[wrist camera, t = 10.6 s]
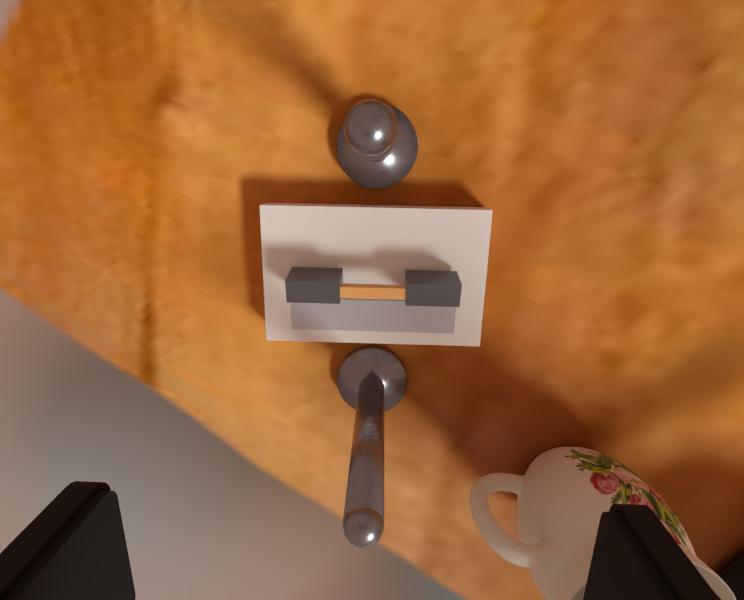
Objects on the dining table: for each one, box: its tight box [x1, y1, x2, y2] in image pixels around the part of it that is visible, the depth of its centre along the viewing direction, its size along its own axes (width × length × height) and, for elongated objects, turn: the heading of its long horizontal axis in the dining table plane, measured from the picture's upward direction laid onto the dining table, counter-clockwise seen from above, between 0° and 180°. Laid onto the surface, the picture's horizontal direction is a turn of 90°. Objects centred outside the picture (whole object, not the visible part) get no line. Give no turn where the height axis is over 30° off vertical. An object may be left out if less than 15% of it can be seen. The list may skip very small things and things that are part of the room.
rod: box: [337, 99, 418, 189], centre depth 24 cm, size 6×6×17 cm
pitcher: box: [470, 446, 736, 600], centre depth 33 cm, size 11×18×14 cm, turn 71°
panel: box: [260, 202, 493, 346], centre depth 33 cm, size 10×16×3 cm, turn 89°
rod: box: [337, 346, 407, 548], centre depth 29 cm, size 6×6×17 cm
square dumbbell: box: [285, 267, 462, 307], centre depth 31 cm, size 2×12×2 cm, turn 89°
